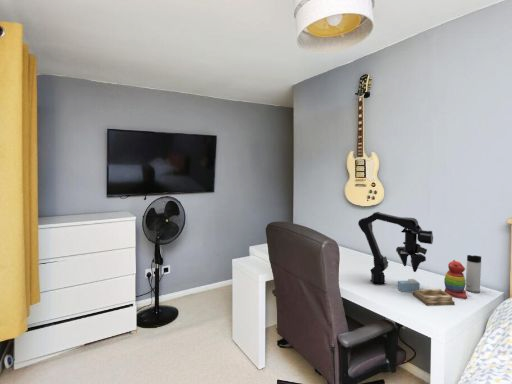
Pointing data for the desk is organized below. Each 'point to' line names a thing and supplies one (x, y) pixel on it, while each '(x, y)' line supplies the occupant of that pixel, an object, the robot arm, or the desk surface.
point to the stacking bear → (455, 280)
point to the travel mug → (473, 273)
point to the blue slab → (408, 285)
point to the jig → (433, 297)
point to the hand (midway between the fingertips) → (409, 268)
